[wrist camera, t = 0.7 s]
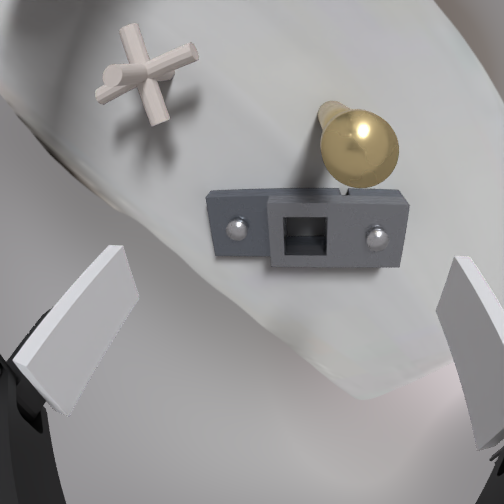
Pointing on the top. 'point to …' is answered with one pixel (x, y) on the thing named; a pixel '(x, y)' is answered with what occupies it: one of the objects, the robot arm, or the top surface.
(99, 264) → the robot arm
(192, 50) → the white crossed rod jack
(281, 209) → the square socket block
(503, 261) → the top surface
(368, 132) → the pin
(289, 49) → the top surface
